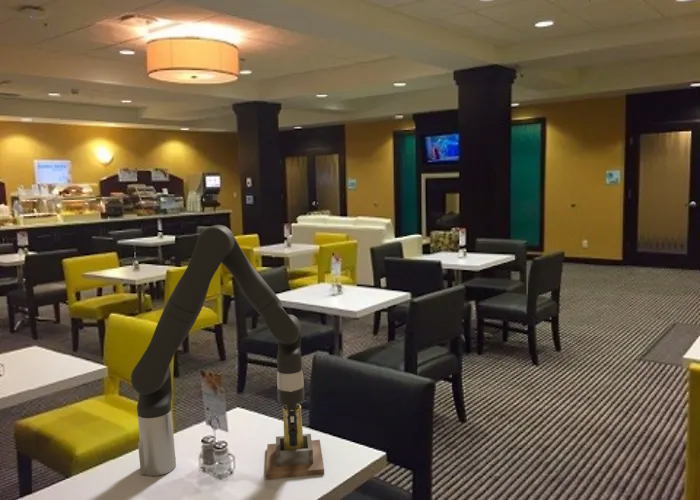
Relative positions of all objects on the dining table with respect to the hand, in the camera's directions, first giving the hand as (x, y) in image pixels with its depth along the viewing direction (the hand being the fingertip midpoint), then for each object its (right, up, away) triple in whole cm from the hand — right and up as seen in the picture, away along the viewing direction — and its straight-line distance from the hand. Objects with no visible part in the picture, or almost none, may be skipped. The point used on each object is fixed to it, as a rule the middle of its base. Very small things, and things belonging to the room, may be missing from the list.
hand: (293, 440), depth 170 cm
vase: (0, -4, +1) cm, 4 cm away
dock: (0, -6, +1) cm, 6 cm away
